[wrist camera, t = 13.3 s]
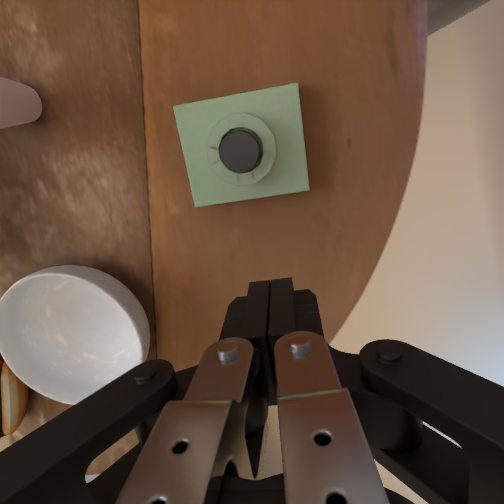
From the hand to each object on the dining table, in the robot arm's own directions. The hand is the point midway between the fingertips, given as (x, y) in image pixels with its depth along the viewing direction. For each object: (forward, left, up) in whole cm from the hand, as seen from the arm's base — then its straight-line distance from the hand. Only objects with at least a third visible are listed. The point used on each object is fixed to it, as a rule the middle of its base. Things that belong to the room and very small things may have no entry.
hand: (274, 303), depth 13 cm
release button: (+3, -4, -23) cm, 24 cm away
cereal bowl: (+25, +13, -27) cm, 39 cm away
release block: (+3, -4, -27) cm, 27 cm away
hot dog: (+40, +22, -27) cm, 53 cm away
